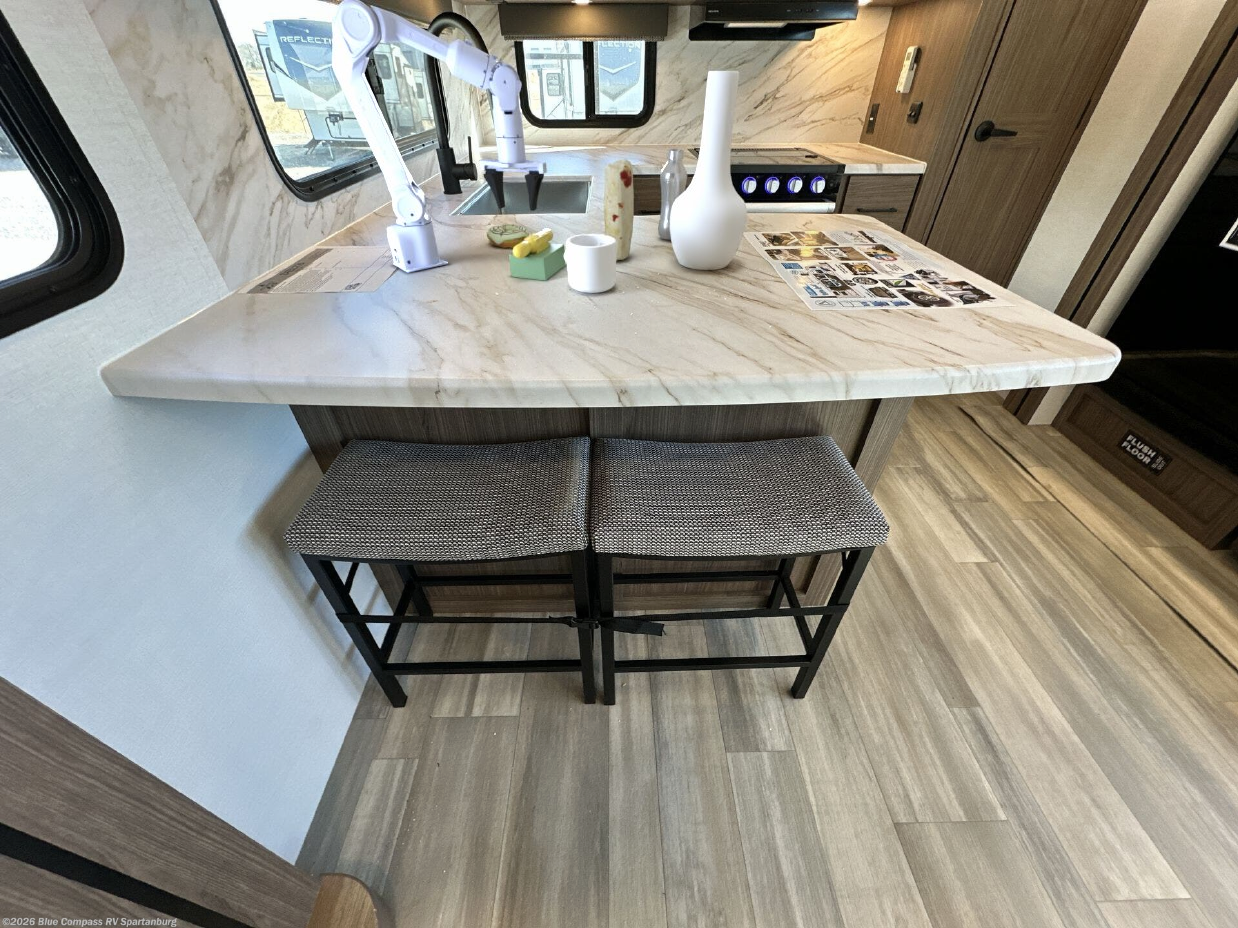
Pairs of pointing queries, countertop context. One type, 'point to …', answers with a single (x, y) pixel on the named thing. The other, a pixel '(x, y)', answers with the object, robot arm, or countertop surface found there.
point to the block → (538, 263)
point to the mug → (591, 262)
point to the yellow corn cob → (533, 243)
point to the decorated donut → (507, 235)
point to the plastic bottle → (671, 188)
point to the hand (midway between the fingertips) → (517, 209)
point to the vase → (711, 187)
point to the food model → (619, 205)
